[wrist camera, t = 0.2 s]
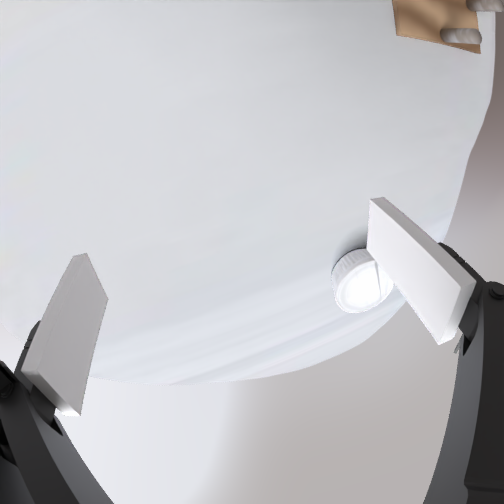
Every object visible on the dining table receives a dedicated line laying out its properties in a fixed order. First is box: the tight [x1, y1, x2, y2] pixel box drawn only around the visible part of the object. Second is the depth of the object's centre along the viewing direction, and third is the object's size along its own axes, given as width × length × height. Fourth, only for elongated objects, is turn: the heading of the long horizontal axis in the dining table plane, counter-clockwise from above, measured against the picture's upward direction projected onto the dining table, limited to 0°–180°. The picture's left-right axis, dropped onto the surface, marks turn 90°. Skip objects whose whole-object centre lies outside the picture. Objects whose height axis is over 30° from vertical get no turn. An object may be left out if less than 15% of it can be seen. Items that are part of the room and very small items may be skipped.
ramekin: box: [331, 249, 394, 313], centre depth 50 cm, size 11×11×5 cm
